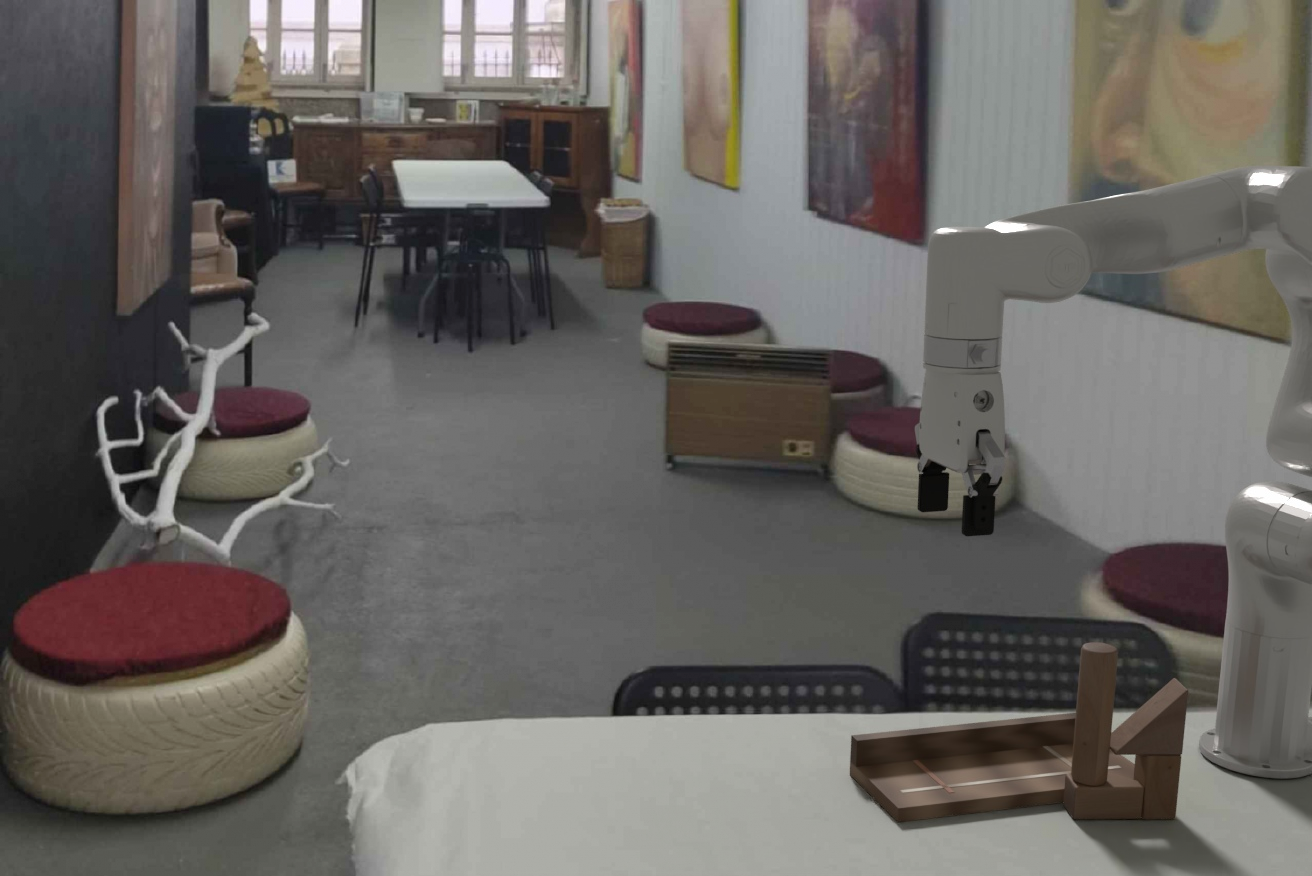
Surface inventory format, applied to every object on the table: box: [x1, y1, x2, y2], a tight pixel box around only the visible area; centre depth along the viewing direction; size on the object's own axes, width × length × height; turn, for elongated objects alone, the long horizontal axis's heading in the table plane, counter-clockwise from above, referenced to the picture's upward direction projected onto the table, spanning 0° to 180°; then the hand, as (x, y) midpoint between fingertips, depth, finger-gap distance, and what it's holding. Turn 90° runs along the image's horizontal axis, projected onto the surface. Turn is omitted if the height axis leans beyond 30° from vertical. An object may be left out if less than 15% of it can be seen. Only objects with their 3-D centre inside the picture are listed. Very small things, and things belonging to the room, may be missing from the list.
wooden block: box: [1062, 641, 1189, 820], centre depth 151 cm, size 4×11×18 cm, turn 93°
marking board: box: [849, 712, 1135, 823], centre depth 160 cm, size 30×12×4 cm, turn 106°
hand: (954, 522), depth 149 cm, fingers open, 9 cm apart
